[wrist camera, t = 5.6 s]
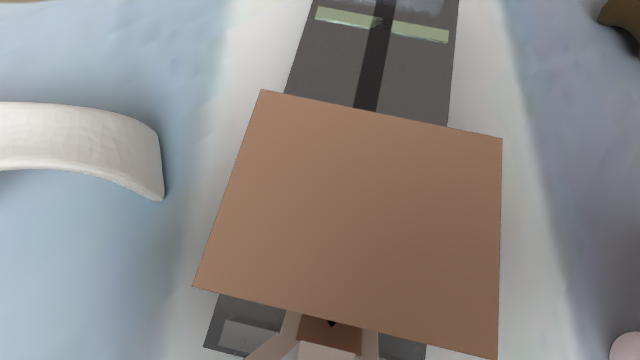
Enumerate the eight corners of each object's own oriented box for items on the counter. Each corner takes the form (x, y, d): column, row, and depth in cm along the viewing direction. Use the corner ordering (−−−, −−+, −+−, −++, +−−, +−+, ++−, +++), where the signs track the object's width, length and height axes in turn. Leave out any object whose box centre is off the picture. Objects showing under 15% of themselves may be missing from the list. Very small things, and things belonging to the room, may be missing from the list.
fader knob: (387, 321, 14) (497, 361, 6) (262, 291, 15) (191, 286, 6) (400, 222, 16) (502, 138, 7) (287, 197, 16) (260, 88, 8)
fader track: (407, 389, 16) (433, 415, 12) (215, 341, 16) (190, 352, 13) (448, 10, 24) (470, -35, 21) (324, -13, 25) (326, -60, 22)
